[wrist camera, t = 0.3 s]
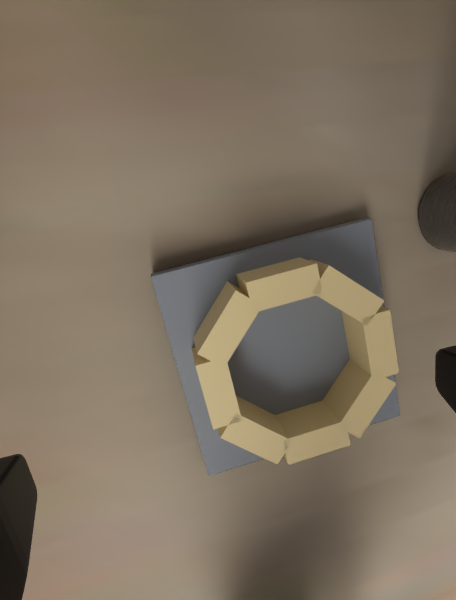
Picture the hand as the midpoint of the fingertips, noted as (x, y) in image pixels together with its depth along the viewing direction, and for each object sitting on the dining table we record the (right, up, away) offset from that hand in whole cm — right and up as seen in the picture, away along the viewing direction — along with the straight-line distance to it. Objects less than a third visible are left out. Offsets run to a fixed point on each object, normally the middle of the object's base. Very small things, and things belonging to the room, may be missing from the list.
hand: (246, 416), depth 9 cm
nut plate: (+3, 0, +15) cm, 15 cm away
